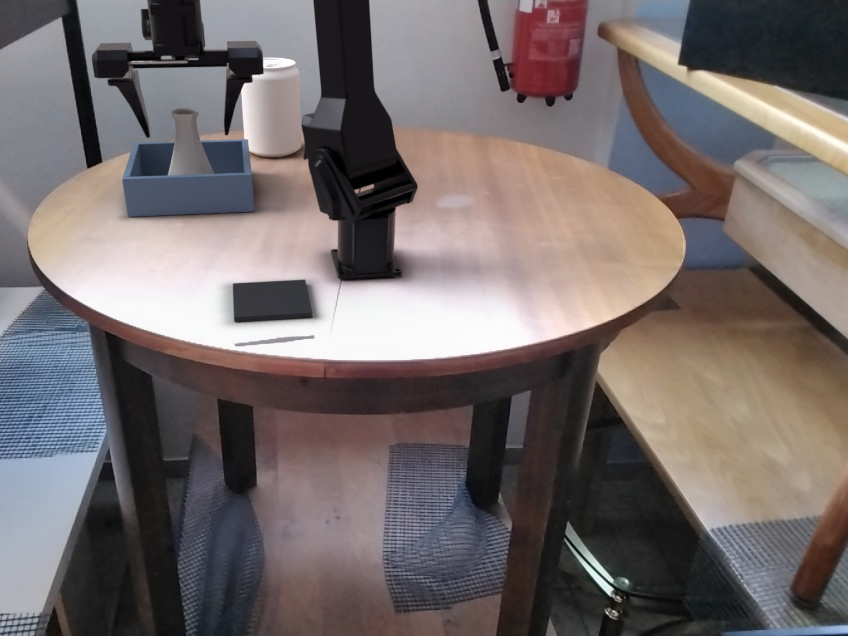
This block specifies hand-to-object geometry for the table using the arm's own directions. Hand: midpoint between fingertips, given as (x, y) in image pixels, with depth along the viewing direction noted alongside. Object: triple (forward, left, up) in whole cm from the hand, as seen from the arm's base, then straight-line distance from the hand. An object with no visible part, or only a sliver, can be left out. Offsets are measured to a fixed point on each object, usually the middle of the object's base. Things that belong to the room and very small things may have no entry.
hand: (187, 135), depth 94 cm
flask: (0, 0, -7) cm, 7 cm away
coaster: (-31, -8, -7) cm, 33 cm away
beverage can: (+17, -11, -7) cm, 22 cm away
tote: (0, 0, -7) cm, 7 cm away
